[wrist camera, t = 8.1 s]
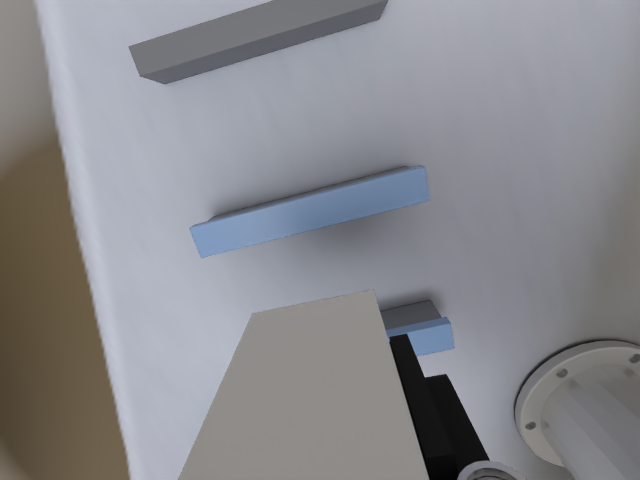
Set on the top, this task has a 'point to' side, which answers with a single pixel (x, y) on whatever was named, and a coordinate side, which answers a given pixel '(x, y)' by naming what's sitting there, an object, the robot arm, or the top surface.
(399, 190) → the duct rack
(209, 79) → the top surface
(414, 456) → the off-white rectangular prism
